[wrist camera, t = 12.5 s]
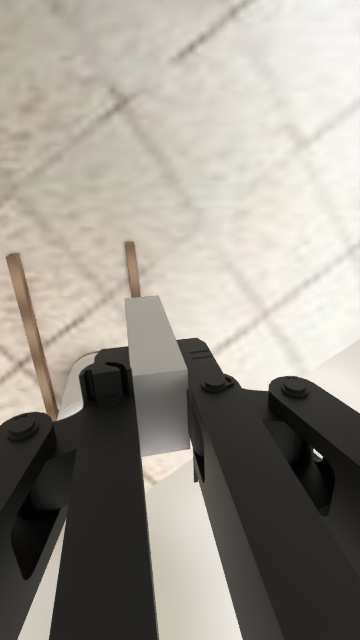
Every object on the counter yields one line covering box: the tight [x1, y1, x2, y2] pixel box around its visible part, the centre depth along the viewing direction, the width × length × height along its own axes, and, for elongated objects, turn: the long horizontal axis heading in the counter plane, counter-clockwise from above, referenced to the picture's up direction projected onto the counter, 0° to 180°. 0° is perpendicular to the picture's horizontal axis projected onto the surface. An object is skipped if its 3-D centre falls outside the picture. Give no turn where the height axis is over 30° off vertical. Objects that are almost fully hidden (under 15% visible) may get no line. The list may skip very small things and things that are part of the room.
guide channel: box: [6, 242, 141, 422], centre depth 41 cm, size 24×14×5 cm, turn 5°
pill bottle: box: [57, 353, 98, 421], centre depth 38 cm, size 8×8×15 cm
